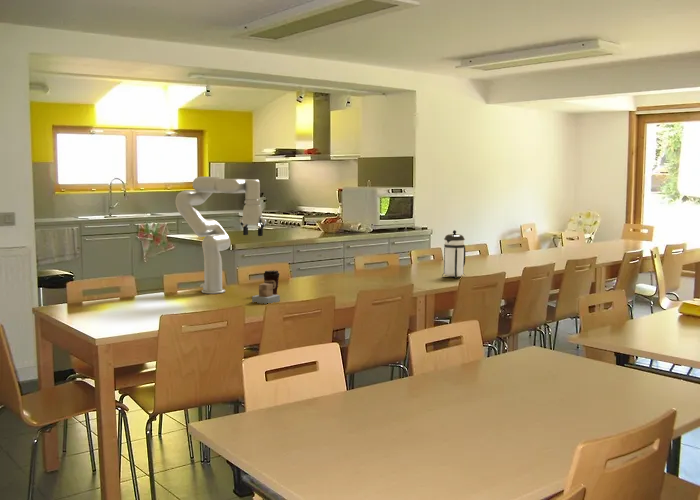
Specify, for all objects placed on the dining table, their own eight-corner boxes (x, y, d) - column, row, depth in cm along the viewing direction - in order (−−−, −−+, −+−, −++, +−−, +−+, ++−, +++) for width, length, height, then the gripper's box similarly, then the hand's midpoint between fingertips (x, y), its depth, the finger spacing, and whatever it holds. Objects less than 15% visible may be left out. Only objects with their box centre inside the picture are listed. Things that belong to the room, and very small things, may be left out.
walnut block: (258, 296, 363) (258, 284, 362) (264, 294, 367) (264, 283, 367) (266, 297, 361) (266, 285, 360) (272, 295, 365) (272, 283, 364)
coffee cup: (276, 296, 380) (276, 272, 378) (261, 295, 381) (261, 271, 380) (281, 293, 388) (281, 270, 387) (266, 293, 390) (266, 269, 388)
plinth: (252, 302, 363) (252, 296, 362) (264, 299, 371) (264, 293, 371) (268, 304, 358) (268, 298, 357) (279, 301, 366) (279, 295, 366)
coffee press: (468, 279, 448) (469, 231, 444) (443, 278, 448) (444, 231, 445) (464, 275, 465) (465, 229, 462) (440, 275, 465) (441, 228, 462)
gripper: (235, 202, 377) (235, 235, 379) (261, 203, 368) (261, 236, 370) (244, 202, 383) (244, 234, 385) (270, 203, 375) (270, 235, 376)
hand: (252, 235), depth 378 cm, fingers open, 9 cm apart
